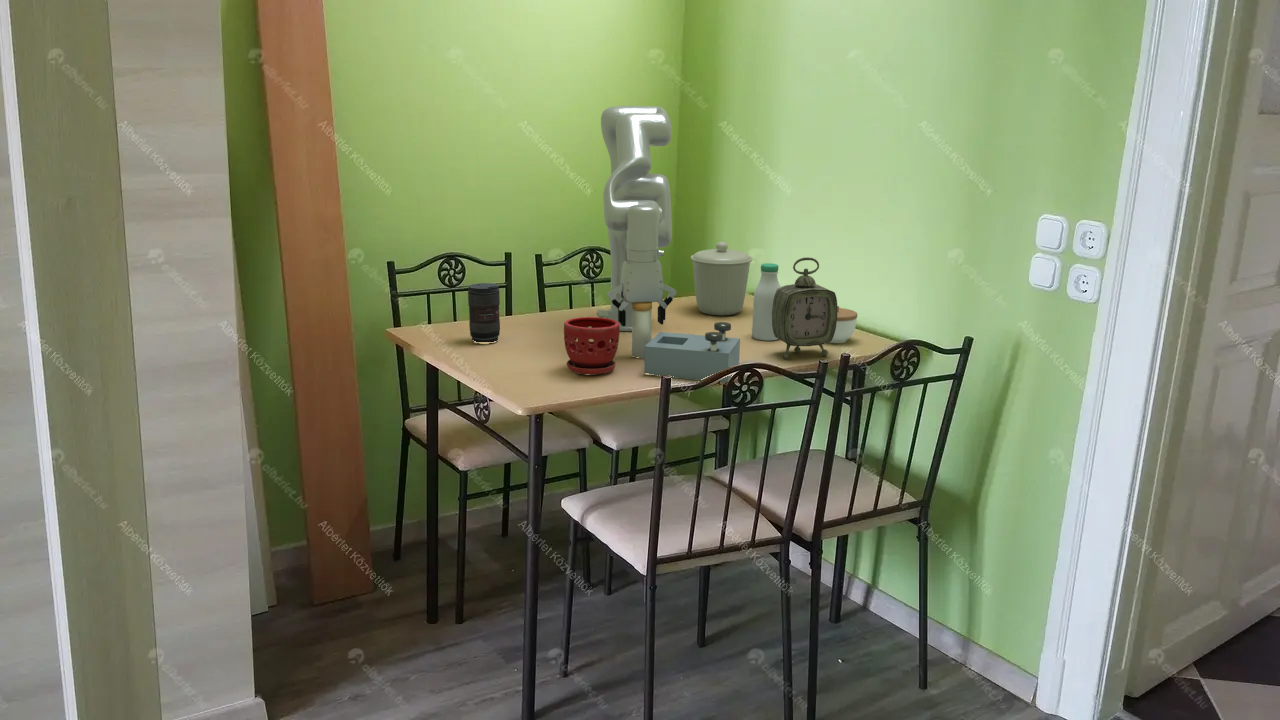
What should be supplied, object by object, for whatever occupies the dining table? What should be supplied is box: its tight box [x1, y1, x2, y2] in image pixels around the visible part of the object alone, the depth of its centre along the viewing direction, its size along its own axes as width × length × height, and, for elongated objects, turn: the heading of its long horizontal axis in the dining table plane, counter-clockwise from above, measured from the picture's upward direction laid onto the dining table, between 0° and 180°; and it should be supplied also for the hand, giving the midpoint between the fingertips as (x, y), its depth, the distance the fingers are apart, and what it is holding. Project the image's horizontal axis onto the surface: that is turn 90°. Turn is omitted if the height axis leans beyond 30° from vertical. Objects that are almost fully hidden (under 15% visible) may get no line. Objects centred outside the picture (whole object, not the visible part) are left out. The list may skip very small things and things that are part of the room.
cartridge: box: [631, 302, 653, 358], centre depth 249 cm, size 5×5×14 cm
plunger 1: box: [705, 331, 723, 351], centre depth 231 cm, size 4×4×7 cm
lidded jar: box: [828, 305, 858, 344], centre depth 266 cm, size 11×11×9 cm
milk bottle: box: [751, 262, 781, 342], centre depth 267 cm, size 8×8×20 cm
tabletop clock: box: [772, 257, 838, 360], centre depth 250 cm, size 14×9×25 cm, turn 106°
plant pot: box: [563, 316, 620, 376], centre depth 237 cm, size 13×13×12 cm
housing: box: [643, 331, 741, 384], centre depth 238 cm, size 20×14×7 cm
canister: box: [690, 241, 753, 317], centre depth 294 cm, size 18×18×21 cm
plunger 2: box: [713, 321, 732, 341], centre depth 240 cm, size 4×4×7 cm
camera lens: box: [467, 282, 501, 342], centre depth 261 cm, size 8×8×15 cm
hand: (641, 324), depth 248 cm, fingers open, 9 cm apart
